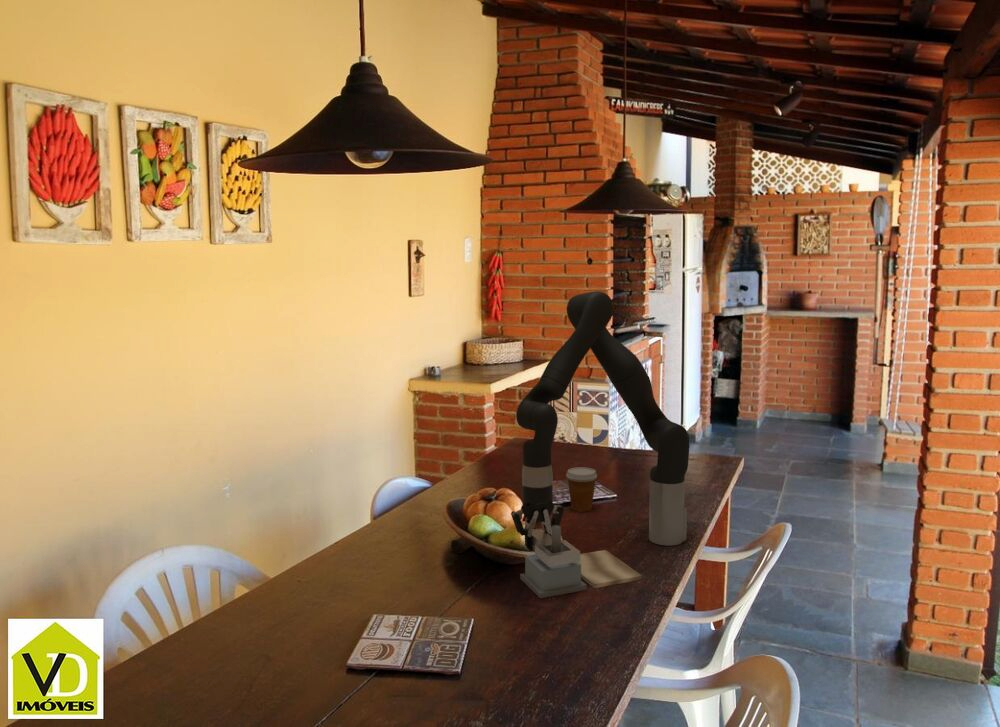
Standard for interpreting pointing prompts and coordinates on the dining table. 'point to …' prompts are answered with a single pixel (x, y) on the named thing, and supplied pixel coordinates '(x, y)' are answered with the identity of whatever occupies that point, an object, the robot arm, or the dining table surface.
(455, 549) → the hand tool
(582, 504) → the disposable coffee cup
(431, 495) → the dining table surface
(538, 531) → the beige stepped block
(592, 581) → the folded beige cloth
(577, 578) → the block with upright post
